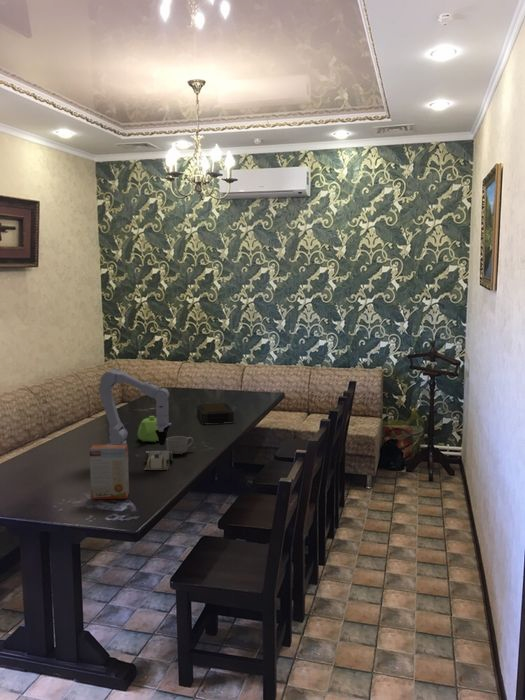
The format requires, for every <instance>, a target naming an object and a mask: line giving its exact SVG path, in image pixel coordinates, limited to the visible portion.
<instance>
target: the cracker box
mask: <svg viewBox="0 0 525 700" xmlns="http://www.w3.org/2000/svg"><path fill="white" fill-rule="evenodd" d="M128 447H129V446H128V444H127V445H107V444H93V445H92V446H91V447H90V448H89V467H90V468H89V469H90V470H89V471H90V472H89V473H90V475H89V476H90V496H91V500H127V498H128V497H129V495H130V483H129V482H130V481H129V460H128V458H129V449H128ZM128 494H129V495H128Z"/></svg>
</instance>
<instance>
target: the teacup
mask: <svg viewBox="0 0 525 700" xmlns="http://www.w3.org/2000/svg"><path fill="white" fill-rule="evenodd" d="M189 440H191V441H190V443H189ZM188 443H189V444H188ZM193 443H194V438H193V437H191V436H188V437H187V436H185V435H184V436H183V435H175V436H174V435H173V436H170V437H166V441H165V445H166V451H170V450H173V454H181V455H183V453H184V454H185V453H186V451H187V450H188V449H189V448H190V447H191V446H192V445H193Z"/></svg>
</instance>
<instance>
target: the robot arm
mask: <svg viewBox="0 0 525 700" xmlns="http://www.w3.org/2000/svg"><path fill="white" fill-rule="evenodd" d="M121 383H125V384H127V385H130V386H133V387H134V388H137V389H139V391H140V392H141V394H144V395H146V396H148V397H150V398H152V399H154V400H155V401H156V402H155V403H156V406H155V409H156V412H155V413H156V414H155V418H156V426H157V427H158V429H159V430H156V431H155V432H156V434H157V436H158V440H159V441H158V444H159V446H165V445H166V439H167V438H168V437H167V436H168V432H169V428H170V426H172V422H170V420H169V419H170V417H169V412H170V411H169V397H170V395H171V394H170V392H169V390H168V389H167V388H166V387H161V386H160V385H159V386H158V385H155V384H153V382H152V381H141V380H139V379H137V378H135V377H134V376H132V375H130V374H129V373H126V372H125V371H122V370H119V369H117V368H112V369H110V370H109V371H105V372H104V373H103V374H102V376H101V377H100V382H99V386H98V393H99V396H100V399H101V403H102V405H103V409H104V411H105V415H106V418H107V422H108V426H109V429H108V433H109V438H108V440H109V442H110V443H107V444H106V445H128V443H127V438H128V436H129V435H128V434H129V432H128V430H127V429H126V428H125V427H124V424H123V423H122V421H121V418H120V417H119V416H120V415H119V413H118V409H117V406H116V403H115V399H114V396H113V394H112V393H113V392H112V389H113V388H114V386H115V385H116V384H121ZM129 459H130V458H129V457H128V461H129Z"/></svg>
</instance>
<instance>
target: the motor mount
mask: <svg viewBox="0 0 525 700" xmlns="http://www.w3.org/2000/svg"><path fill="white" fill-rule="evenodd" d="M155 454H159V456H163V466H162V468H151V457H152V456H155ZM173 457H174V455H173V450H170V451H167V450H145V451H144V462H146V464H145V467H144V470H164V469H168V467H169V466H167V465H169V464H170V465H171V463H168V461H171V462H173V459H174V458H173ZM167 463H168V464H167ZM169 468H170V467H169Z"/></svg>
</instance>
